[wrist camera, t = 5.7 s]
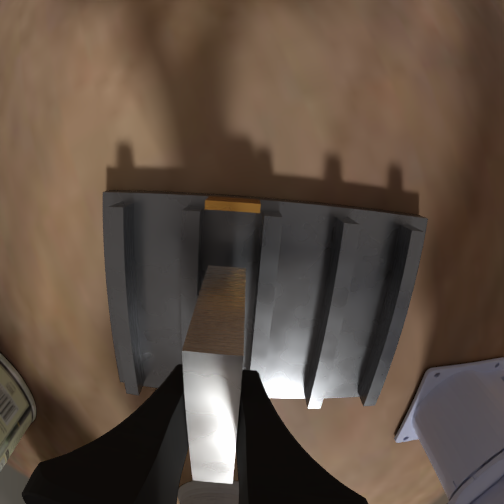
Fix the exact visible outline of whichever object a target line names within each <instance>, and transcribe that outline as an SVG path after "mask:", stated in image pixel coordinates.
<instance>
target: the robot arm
mask: <svg viewBox="0 0 504 504" xmlns="http://www.w3.org/2000/svg"><path fill="white" fill-rule="evenodd" d="M394 439H395V441H396V442H397V443H400V442H405V441H411V440H416V439H419V440H420V442H421V444H422V446H423V448H424V450H425V452H426V454H427V456H428V458H429V460H430V462H431V464H432V466H433V468H434V470H435V472H436V474H437V476H438V478H439V480H440V482H441V484H442V486H443V488H444V490H445V493H446V495H447V497H448V499H449V502H448V503H447V504H504V357H502V358H496V359H491V360H485V361H478V362H472V363H465V364H458V365H450V366H442V367H434V368H430V369H428V370H427V371H426V372H425V374H424V377H423V379H422V382H421V384H420V386H419V388H418V391H417V393H416V395H415V397H414V400H413V402H412V404H411V406H410V408H409V410H408V412H407V414H406V416H405V418H404V420H403V422H402V424H401V426H400V428H399V430H398V432H397V434H396V436H395V438H394ZM188 447H189V442H188V432H187V421H186V409H185V395H184V381H183V364H178V365H177V366H175V368H174V369H173V371H172V372H171V373H170V374H169V376H168V377H167V378H166V379H165V381H164V382H163V383H162V384H161V385H160V386H159V388H158V389H157V390H156V391H155V392H154V393H153V394H152V395H151V396H150V397H149V398H148V399H147V400H146V401H145V402H144V403H143V404H142V405H141V406H140V407H139V408H138V409H137V410H136V411H135V412H134V413H132V414H131V415H130V416H129V417H128V418H126V419H125V420H124V421H123V422H121V423H120V424H119V425H117V426H116V427H115V428H113V429H112V430H110V431H109V432H107V433H106V434H104V435H103V436H101V437H99V438H98V439H96V440H94V441H92V442H91V443H89V444H87V445H85V446H83V447H80V448H78V449H76V450H74V451H72V452H70V453H67V454H65V455H62V456H59V457H56V458H53V459H50V460H47V461H44V462H40V463H39V464H38V466H37V467H36V469H35V470H34V472H33V473H32V475H31V477H30V479H29V481H28V483H27V485H26V487H25V488H24V490H23V492H22V497H23V499H24V501H25V503H26V504H177V496H178V489H179V482H180V478H181V473H182V470H183V466H184V462H185V458H186V454H187V451H188ZM236 453H237V466H238V479H239V504H368V502H367V500H366V498H364V497H362V496H361V495H359V494H357V493H356V492H354V491H353V490H351V489H349V488H348V487H346V486H345V485H344V484H342V483H341V482H339V481H338V480H337V479H336V478H334V477H333V476H332V475H330V474H329V473H328V472H327V471H326V470H325V469H324V468H323V467H321V466H320V465H319V464H318V463H317V462H316V461H315V460H314V459H313V458H312V457H311V456H310V455H309V454H308V453H307V452H306V451H305V450H304V449H303V448H302V447H301V445H300V444H299V443H298V442H297V441H296V439H295V438H294V437H293V436H292V434H291V433H290V432H289V430H288V429H287V427H286V426H285V424H284V423H283V421H282V420H281V418H280V417H279V415H278V414H277V412H276V410H275V408H274V407H273V405H272V403H271V401H270V399H269V397H268V395H267V393H266V391H265V389H264V386H263V384H262V381H261V378H260V375H259V373H258V372H257V371H256V370H242V381H241V393H240V405H239V416H238V428H237V440H236Z"/></svg>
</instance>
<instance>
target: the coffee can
mask: <svg viewBox="0 0 504 504" xmlns="http://www.w3.org/2000/svg"><path fill="white" fill-rule="evenodd" d="M35 418H36V405H35V401H34V399H33V396H32V394H31V392H30V390H29V388H28V387H27V385H26V384H25V382H24V380H23V379H22V377H21V376H20V374H19V373H18V372H17V371H16V369H15V368H14V367H13V366H12V365H11V363H10V362H9V361H8V360H7V359H6V358H5V357H4V356H3V355H2V354H1V353H0V472H1V470H2V468H3V466H4V465H5V463H6V462H7V460H8V458H9V457H10V455H11V453H12V452H13V450H14V449H15V447H16V445H17V444H18V442H19V441H20V439H21V438H22V436H23V435H24V433H25V431H26V430H27V428H28V427H29V425H30V424H31V423H32V422H33V421H34V420H35Z"/></svg>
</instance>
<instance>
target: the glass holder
mask: <svg viewBox="0 0 504 504" xmlns="http://www.w3.org/2000/svg"><path fill="white" fill-rule="evenodd" d="M178 499H179V501H180V504H239V482H238V481H233V484H228V483H214V482H204V481H191V482H188V483H186V484H183V485H182V486H181V487H180V488H179V489H178Z"/></svg>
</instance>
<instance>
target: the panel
mask: <svg viewBox="0 0 504 504" xmlns="http://www.w3.org/2000/svg"><path fill="white" fill-rule="evenodd" d="M245 286H246V268H237V267H224V266H211V265H208V268H207V271H206V274H205V277H204V280H203V283H202V286H201V290H200V293H199V296H198V299H197V302H196V306H195V309H194V312H193V315H192V319H191V322H190V325H189V328H188V332H187V335H186V338H185V342H184V345H183V348H182V364H183V381H184V395H185V409H186V421H187V432H188V442H189V451H190V461H191V469H192V477H193V480H195V481H204V482H214V483H228V484H233V474H234V463H235V451H236V440H237V428H238V416H239V405H240V393H241V381H242V369H243V358H244V323H245Z"/></svg>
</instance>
